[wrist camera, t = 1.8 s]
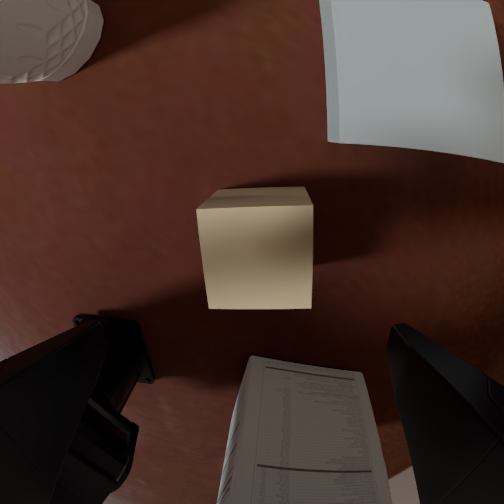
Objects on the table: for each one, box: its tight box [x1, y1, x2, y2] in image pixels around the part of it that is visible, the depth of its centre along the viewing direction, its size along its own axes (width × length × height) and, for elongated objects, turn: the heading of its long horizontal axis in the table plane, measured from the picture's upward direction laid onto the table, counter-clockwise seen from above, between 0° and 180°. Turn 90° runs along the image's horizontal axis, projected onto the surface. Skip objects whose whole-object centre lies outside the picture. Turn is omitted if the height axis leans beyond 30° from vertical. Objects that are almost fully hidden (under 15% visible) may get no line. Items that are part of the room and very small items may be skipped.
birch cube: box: [196, 187, 313, 309], centre depth 16 cm, size 5×5×5 cm
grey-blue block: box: [319, 0, 504, 163], centre depth 12 cm, size 10×10×4 cm
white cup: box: [0, 0, 104, 84], centre depth 10 cm, size 8×8×10 cm
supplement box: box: [217, 355, 392, 504], centre depth 16 cm, size 10×9×17 cm
